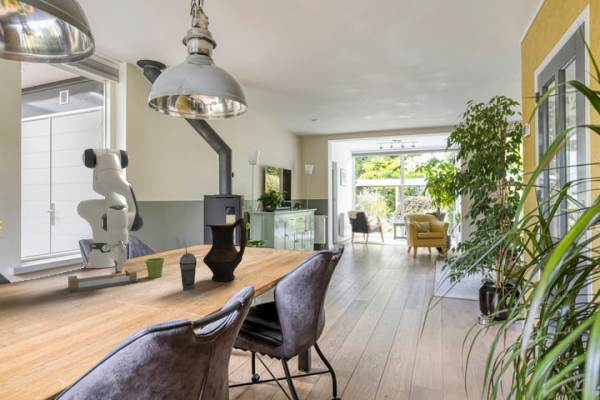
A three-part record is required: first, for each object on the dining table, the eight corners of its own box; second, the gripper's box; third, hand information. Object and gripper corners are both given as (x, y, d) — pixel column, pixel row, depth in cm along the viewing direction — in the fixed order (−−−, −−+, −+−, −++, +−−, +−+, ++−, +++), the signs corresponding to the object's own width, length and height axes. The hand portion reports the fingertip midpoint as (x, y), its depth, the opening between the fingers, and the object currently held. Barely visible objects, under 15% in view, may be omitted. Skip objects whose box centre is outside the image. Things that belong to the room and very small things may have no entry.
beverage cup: (191, 292, 144) (191, 244, 144) (176, 291, 145) (175, 244, 145) (200, 287, 151) (199, 242, 151) (185, 286, 152) (184, 241, 152)
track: (68, 287, 153) (68, 276, 153) (132, 278, 168) (131, 268, 168) (69, 292, 145) (69, 280, 145) (136, 282, 161) (136, 271, 160)
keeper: (111, 278, 162) (111, 260, 161) (123, 277, 165) (122, 258, 164) (113, 281, 156) (113, 262, 156) (126, 279, 159) (125, 260, 159)
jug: (195, 283, 158) (195, 218, 157) (213, 274, 176) (212, 216, 176) (239, 285, 154) (238, 218, 154) (252, 275, 172) (251, 216, 172)
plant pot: (151, 279, 166) (150, 262, 165) (141, 277, 171) (140, 259, 171) (168, 276, 173) (168, 259, 173) (158, 273, 179) (158, 257, 179)
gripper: (130, 242, 154) (130, 272, 154) (121, 237, 170) (121, 265, 170) (114, 243, 150) (114, 274, 150) (106, 238, 166) (107, 267, 166)
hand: (118, 269), depth 160 cm, fingers closed on keeper, 3 cm apart
